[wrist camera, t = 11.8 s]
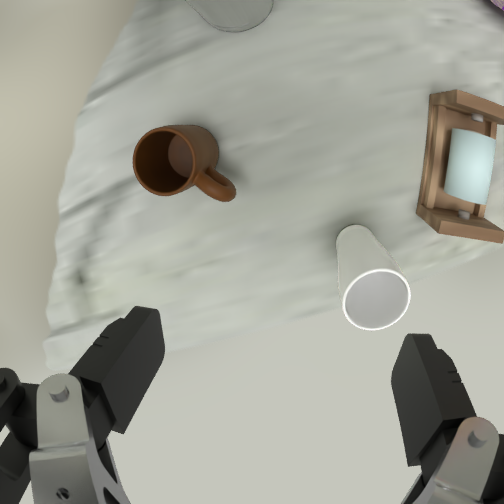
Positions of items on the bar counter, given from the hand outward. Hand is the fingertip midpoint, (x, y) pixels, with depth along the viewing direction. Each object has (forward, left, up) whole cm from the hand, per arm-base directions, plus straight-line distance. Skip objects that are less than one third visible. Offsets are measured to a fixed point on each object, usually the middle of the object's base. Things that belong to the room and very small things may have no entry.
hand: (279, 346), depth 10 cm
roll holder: (-5, +21, -32) cm, 38 cm away
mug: (-1, -12, -32) cm, 34 cm away
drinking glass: (+8, +8, -32) cm, 34 cm away
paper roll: (-5, +21, -31) cm, 38 cm away
